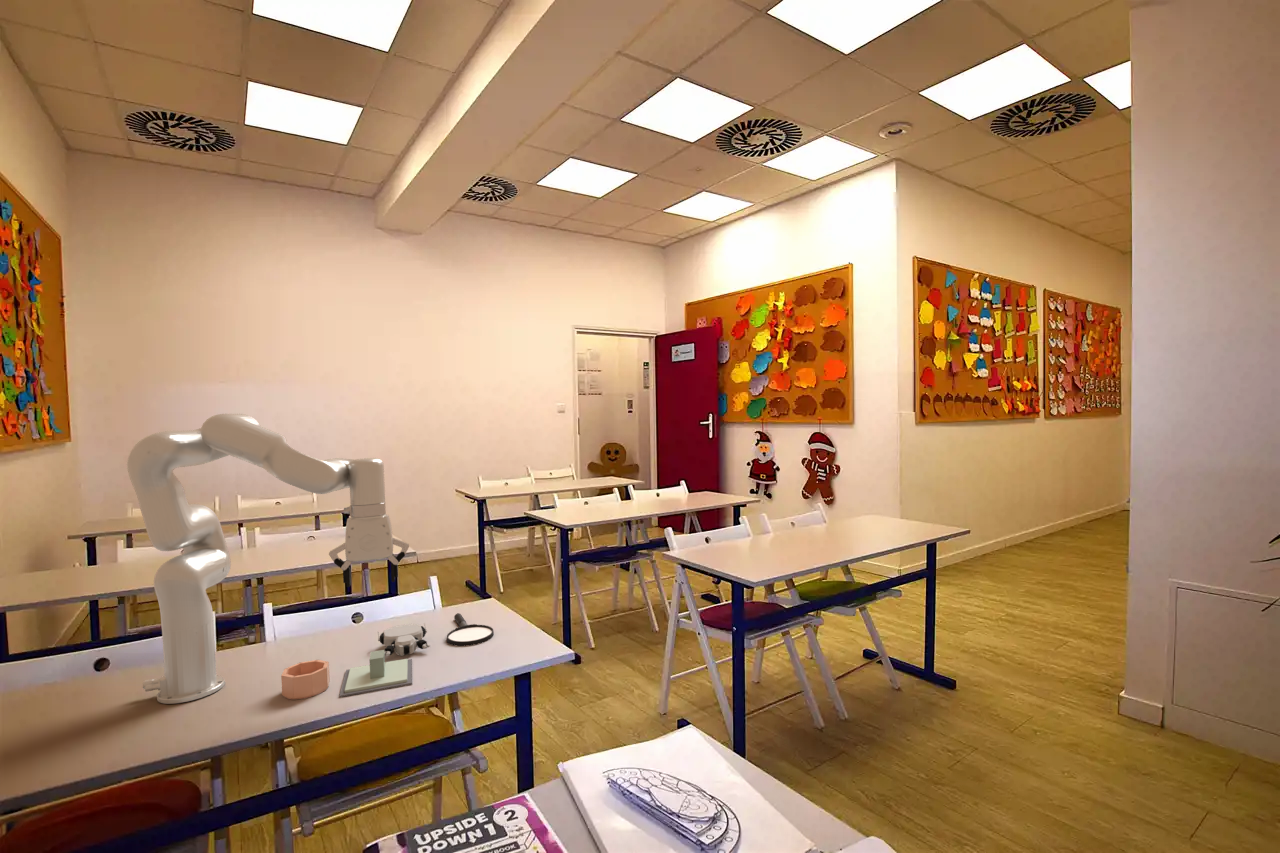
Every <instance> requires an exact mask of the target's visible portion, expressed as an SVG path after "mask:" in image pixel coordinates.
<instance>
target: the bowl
mask: <svg viewBox="0 0 1280 853" xmlns="http://www.w3.org/2000/svg"><path fill="white" fill-rule="evenodd" d="M280 677H281V696H282V697H284V698H285V699H287V700H303V699H308V698H311V697H315V696H317V695H319V694H322V693H324V692H326V690H328V688H329V686H330V682H331V681H330V680H331V679H330V677H331V676H330V662H329V661H327V660H321V659H313V660H308V661H307V660H306V661H301V662H297V663H296V664H293V665H290V666H287V667H286V668H284V669H283V671H282V674H281V676H280Z"/></svg>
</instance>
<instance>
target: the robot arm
mask: <svg viewBox="0 0 1280 853" xmlns="http://www.w3.org/2000/svg"><path fill="white" fill-rule="evenodd" d="M229 456H230V457H233V458H236V459H239V460H242V461H244V462H247V463H250V464H252V465H254V466H257V467H259V468H261V469H264V470H265V471H266V472H267V473H268V474H270V475H272V476H273V477H275V478H276V479H277V480H279V481H282V482H283V483H286V484H288V485H291V486H293V487H296V488H299V489H301V490H303V491H306V492H308V493H309V492H310V493H312V494H317V495H325V494H326V495H328V494H330V493H333V492H336V491H340V490H343V489H348V488H349V500H350V501H349V503H350V505H349V506H347V507H344V508H343V514H347V515H349V516H350V517H348V518H347V519H346V525H345V535H344V536H345V541H344V543H343V544H340V545H338V546H336V547H335V548H333V549H331V550H330V551H329V552H328V555H329V558H331V560H332V561H333V563H334V565H336V566H337V567H338V568H340V569H341V571H342V578H343V580H342V581H343V584H346V586H345V587H346V588H350V587H351V585H352V571H351V570H352V569H351V567H350V566H351V564H352V563H358V562H367V561H368V562H369V561H377V560H385V559H388V560H389V562H391V563H390V578H391V580H390V581H391V582H392V583H395V582H396V578H398V577H399V572H398V570H399V569H398V567H399V566H398V564H399V563H400V562H401V560H403V558H405V557H406V556H405V555H406V554H407V552H408V550H409V547H410V544H409V543H408V542H405V541H403V540H400V539H397V538H395V537H394V536H393V531H392V530H393V529H392V522H391V518H390V515H389V514H386V511H387V509H386V490H385V489H386V488H385V486H386V485H385V466H384V461H383V460H382V459H380V458H378V457H377V458H376V457H370V458H368V457H367V458H366V457H365V458H356V459H351V458H340V457H339V458H337V457H336V458H329V459H323V460H321V459H319V458H316V457H312V456H311V455H307V454H306V453H303V452H301V451H298V450H296V449H295V448H293V447H291V446H290V445H289V443H288V440H287V438H286V437H285V435H283V434H281V433H279V432H276V431H273V430H271V429H267V428H266V427H263V426H261V425H260V422H259V421H258V420H257V419H256V418H254V417H253V416H251V415H248V414H243V413H219V414H218V413H217V414H215V415H213V416H210V417H209V418H208V419H206V420H205V421H204V422H203V423H202V425H201V427H200V428H197V429H192V430H191V429H190V430H167V431H160V432H159V431H158V432H156V433H152V434H149V435H147V436H145V437H143V438H142V439H141V440H139V441H138V442H137V443H136V444H135V445H134V446H133V448H132V449H131V450H130V452H129V455H128V458H127V461H126V462H127V464H126V465H127V466H126V467H127V468H126V469H127V473H128V477H129V480H130V483H131V484H132V487H133V489H134V493H135V496H136V498H137V501H138V505H139V509H140V512H141V515H142V521H143V523H144V527H145V530H146V534H147V536H148V539H149V541H150V543H151V544H150V545H152V546H153V548H155V549H156V550H159V551H161V552H173V551H178V550H181V549H182V550H183V554H180V555H177V556H174V557H172V558H170V559H168V560H166V561H165V562H163V563H162V564H161V565H160V567H159V568H158V569H157V570H156V573H155V574H154V579H153V587H154V592H155V596H156V598H157V601H158V605H159V606H158V607H159V614H160V623H161V624H160V625H161V635H162V637H161V638H162V639H161V640H162V654H163V672H164V675H162V676H161V677H159V678H150V679H145V680H143V682H142V689H143V690H144V691H145V692H151V691H152V692H153V691H158V692H157V694H156V700H157V702H158V703H161V704H164V705H166V704H168V705H171V704H174V705H175V704H181V703H187V702H190V701H195V700H198V699H202V698H206V697H208V696H210V695H212V694H214V693H216V692H218V691H219V690H221V689H222V688H223V687H224V686H225V683H226V680H225V677H224V676H222V675H219V674H217V663H216V662H217V660H216V658H217V657H216V644H215V624H214V612H213V606H212V603H211V601H210V598H209V596H208V593H207V589H208V588H210V587H212V586H215V585H217V584H219V583H221V582H222V581H223V580H225V579H226V577H227V576H228V575H229V573H230V570H231V565H232V564H231V556H230V553H229V549H228V545H227V542H226V538H225V535H224V534H225V533H224V531H223V528H222V525H221V521H220V519H219V517H218V515H217V514H216V512H215V511H214V510H213V509H211V508H210V507H208V506H206V505H203V504H199V503H191V504H189V502H188V499H187V495H186V492H185V491H186V490H185V489H184V486H183V484H182V482H181V480H179V478H178V477H177V476H176V475H175V473H174V470H175V469H179V468H185V467H193V466H200V465H204V464H207V463H211V462H214V461H216V460H219V459H223V458H226V457H229ZM394 546H397V547H399V548H401V549H400V552H398V554H397V555H396V554H394ZM343 551H345V559H346V560H343V559H341V558H340V557H339V555H338V554H339V553H341V552H343Z"/></svg>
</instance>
